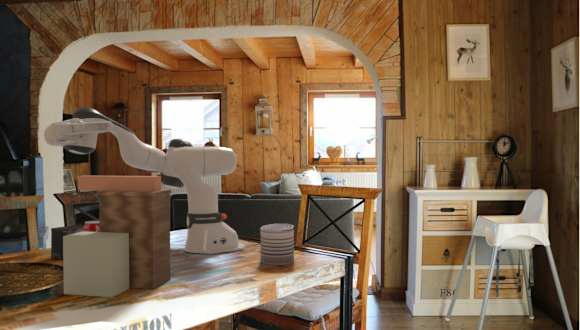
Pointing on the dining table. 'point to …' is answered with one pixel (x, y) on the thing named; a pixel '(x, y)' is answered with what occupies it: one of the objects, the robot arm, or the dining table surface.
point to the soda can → (91, 226)
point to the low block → (96, 263)
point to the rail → (120, 183)
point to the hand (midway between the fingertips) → (97, 125)
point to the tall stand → (140, 232)
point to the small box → (61, 239)
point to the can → (277, 244)
